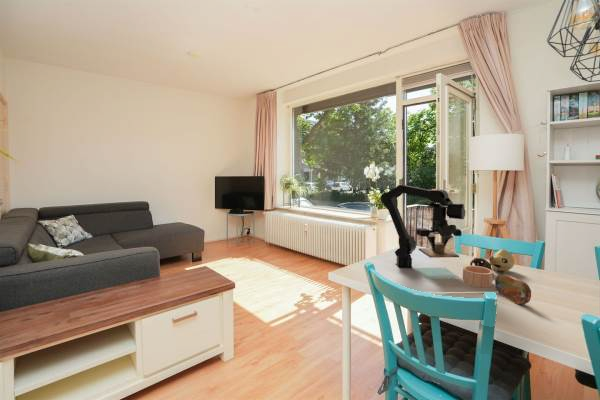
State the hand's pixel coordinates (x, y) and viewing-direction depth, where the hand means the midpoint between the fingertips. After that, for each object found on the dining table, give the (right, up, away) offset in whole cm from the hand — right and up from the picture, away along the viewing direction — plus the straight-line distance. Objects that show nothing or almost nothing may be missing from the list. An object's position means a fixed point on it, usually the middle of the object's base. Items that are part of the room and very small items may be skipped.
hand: (438, 250), depth 143 cm
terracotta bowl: (+12, -13, -11) cm, 20 cm away
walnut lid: (0, -2, 0) cm, 2 cm away
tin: (+16, -15, -27) cm, 34 cm away
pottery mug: (+21, -11, +3) cm, 24 cm away
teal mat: (0, -11, +1) cm, 12 cm away
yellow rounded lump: (+32, -11, +4) cm, 34 cm away
